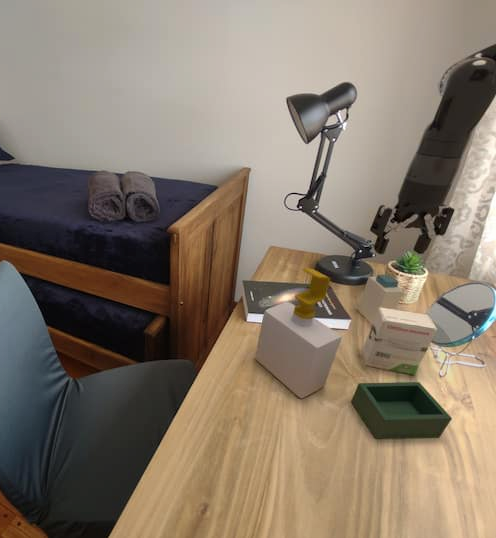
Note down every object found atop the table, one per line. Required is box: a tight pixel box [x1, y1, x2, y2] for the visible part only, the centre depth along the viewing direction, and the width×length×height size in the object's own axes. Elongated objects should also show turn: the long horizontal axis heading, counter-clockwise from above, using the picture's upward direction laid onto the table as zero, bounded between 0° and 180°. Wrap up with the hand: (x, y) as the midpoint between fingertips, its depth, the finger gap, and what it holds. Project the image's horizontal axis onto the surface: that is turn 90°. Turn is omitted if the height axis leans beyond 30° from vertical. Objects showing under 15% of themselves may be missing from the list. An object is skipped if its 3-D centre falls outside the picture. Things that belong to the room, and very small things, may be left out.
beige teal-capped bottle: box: [356, 273, 405, 326], centre depth 83 cm, size 4×6×11 cm, turn 1°
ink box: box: [361, 307, 438, 376], centre depth 70 cm, size 9×5×12 cm, turn 70°
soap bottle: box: [254, 268, 342, 399], centre depth 65 cm, size 12×7×23 cm, turn 27°
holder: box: [350, 381, 453, 440], centre depth 60 cm, size 11×7×5 cm
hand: (398, 252), depth 77 cm, fingers open, 8 cm apart
